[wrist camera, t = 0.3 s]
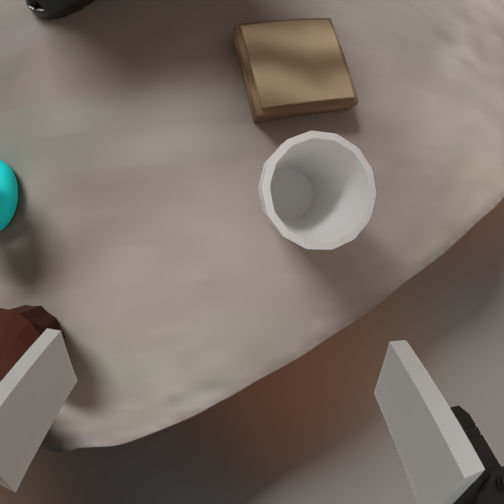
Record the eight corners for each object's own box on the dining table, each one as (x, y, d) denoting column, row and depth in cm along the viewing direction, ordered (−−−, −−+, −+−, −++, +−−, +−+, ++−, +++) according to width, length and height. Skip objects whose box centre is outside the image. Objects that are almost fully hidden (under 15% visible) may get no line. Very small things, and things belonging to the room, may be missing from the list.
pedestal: (232, 38, 33) (234, 22, 29) (322, 30, 34) (331, 16, 30) (254, 123, 35) (258, 114, 31) (347, 110, 36) (360, 101, 32)
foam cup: (338, 179, 37) (392, 171, 25) (303, 247, 38) (344, 269, 25) (270, 140, 36) (296, 109, 23) (232, 210, 37) (240, 213, 24)
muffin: (88, 347, 37) (58, 385, 27) (46, 382, 37) (16, 418, 28) (34, 277, 35) (-9, 297, 25) (-3, 319, 35) (-41, 344, 25)
